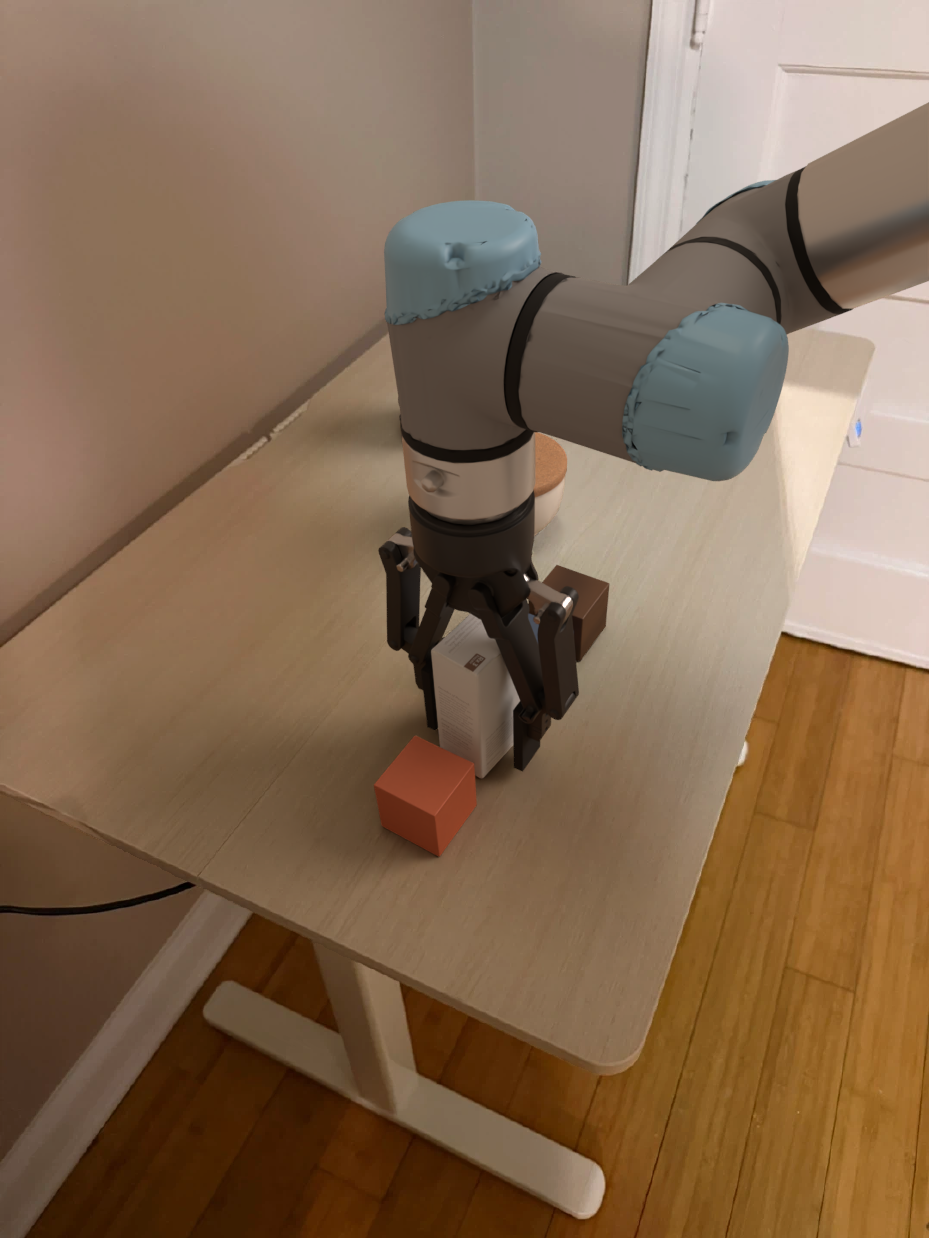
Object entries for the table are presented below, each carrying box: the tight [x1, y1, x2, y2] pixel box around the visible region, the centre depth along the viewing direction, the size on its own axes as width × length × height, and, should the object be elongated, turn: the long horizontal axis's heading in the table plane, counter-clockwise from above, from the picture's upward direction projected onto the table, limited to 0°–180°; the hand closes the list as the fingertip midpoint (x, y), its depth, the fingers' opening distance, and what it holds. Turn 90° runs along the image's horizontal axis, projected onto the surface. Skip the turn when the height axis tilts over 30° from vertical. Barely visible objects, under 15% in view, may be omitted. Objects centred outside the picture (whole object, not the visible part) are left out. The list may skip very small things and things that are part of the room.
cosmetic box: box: [431, 613, 520, 779], centre depth 64 cm, size 6×4×12 cm
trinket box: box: [533, 432, 568, 537], centre depth 85 cm, size 11×11×9 cm
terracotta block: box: [373, 735, 478, 858], centre depth 62 cm, size 5×5×5 cm
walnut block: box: [527, 564, 610, 662], centre depth 75 cm, size 5×5×5 cm
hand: (482, 736), depth 68 cm, fingers open, 7 cm apart
